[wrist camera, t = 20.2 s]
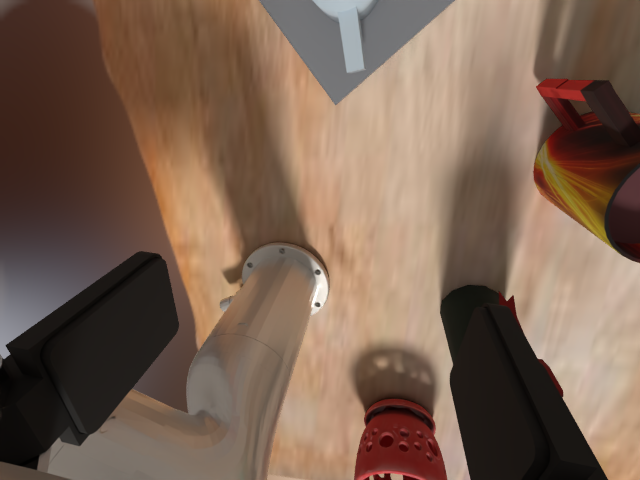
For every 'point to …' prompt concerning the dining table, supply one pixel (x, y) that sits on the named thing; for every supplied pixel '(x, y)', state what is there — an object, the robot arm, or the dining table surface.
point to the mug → (593, 162)
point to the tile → (326, 42)
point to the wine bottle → (460, 310)
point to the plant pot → (399, 443)
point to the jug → (349, 27)
